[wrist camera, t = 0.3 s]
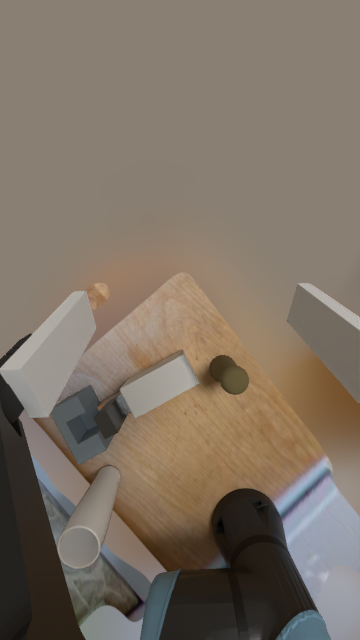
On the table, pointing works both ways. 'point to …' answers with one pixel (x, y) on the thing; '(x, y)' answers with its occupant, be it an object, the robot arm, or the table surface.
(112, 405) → the sliding bolt
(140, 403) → the sleeve
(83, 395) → the socket
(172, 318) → the table surface
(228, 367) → the olive knob-topped post
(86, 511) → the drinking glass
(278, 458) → the table surface
